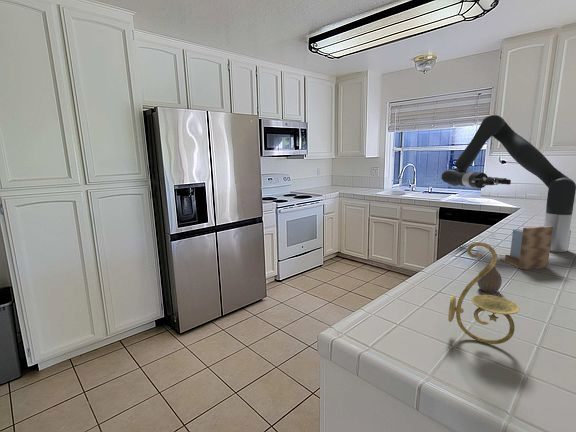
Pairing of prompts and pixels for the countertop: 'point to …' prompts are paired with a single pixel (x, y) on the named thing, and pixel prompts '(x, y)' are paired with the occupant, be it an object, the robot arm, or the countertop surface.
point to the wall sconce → (484, 302)
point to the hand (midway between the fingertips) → (501, 182)
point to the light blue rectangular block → (516, 243)
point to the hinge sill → (533, 248)
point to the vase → (490, 281)
